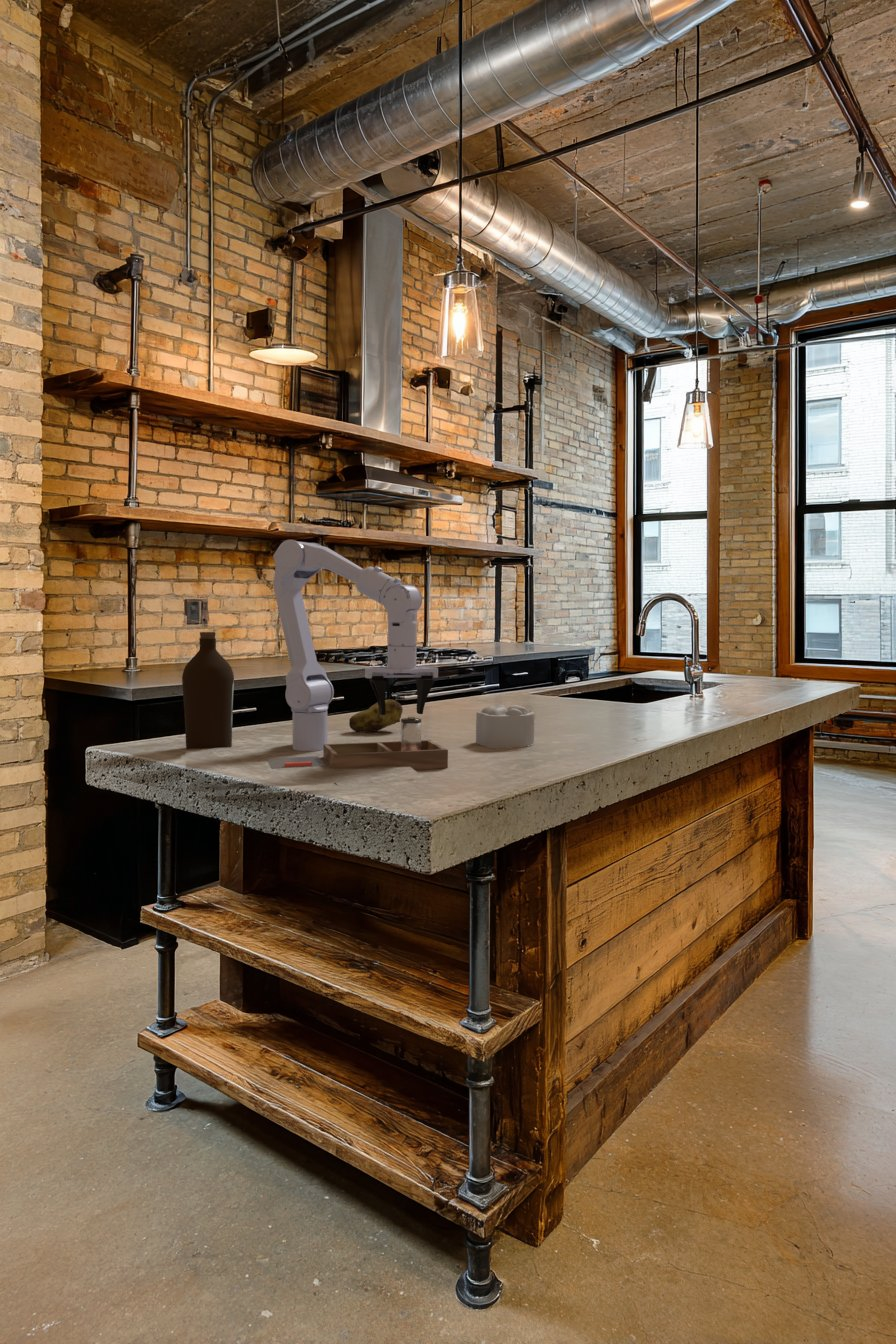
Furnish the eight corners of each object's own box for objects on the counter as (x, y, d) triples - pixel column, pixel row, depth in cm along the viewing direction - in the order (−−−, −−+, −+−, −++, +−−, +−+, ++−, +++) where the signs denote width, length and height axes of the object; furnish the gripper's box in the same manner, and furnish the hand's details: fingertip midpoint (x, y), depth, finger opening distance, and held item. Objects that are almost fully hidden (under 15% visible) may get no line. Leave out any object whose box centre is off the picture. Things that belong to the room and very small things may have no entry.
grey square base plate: (266, 763, 163) (266, 755, 163) (317, 761, 166) (317, 753, 166) (271, 773, 153) (271, 765, 153) (326, 770, 156) (326, 762, 156)
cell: (398, 756, 166) (398, 716, 165) (417, 755, 167) (418, 715, 166) (403, 759, 162) (404, 718, 161) (423, 758, 163) (423, 718, 163)
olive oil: (195, 754, 171) (193, 633, 169) (175, 747, 179) (173, 631, 177) (243, 749, 178) (242, 632, 176) (222, 743, 186) (220, 631, 184)
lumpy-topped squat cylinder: (471, 742, 192) (472, 704, 191) (521, 739, 197) (522, 702, 196) (490, 749, 182) (491, 710, 182) (543, 746, 187) (544, 707, 186)
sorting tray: (323, 761, 165) (323, 744, 165) (429, 756, 172) (429, 740, 172) (334, 773, 154) (334, 754, 154) (447, 767, 161) (447, 749, 160)
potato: (351, 729, 209) (351, 697, 209) (403, 729, 209) (403, 697, 209) (348, 734, 201) (348, 701, 200) (401, 734, 201) (401, 701, 200)
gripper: (370, 646, 159) (369, 717, 160) (443, 646, 163) (441, 715, 164) (362, 644, 165) (362, 712, 167) (432, 644, 170) (431, 711, 171)
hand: (401, 714), depth 166 cm, fingers open, 7 cm apart
